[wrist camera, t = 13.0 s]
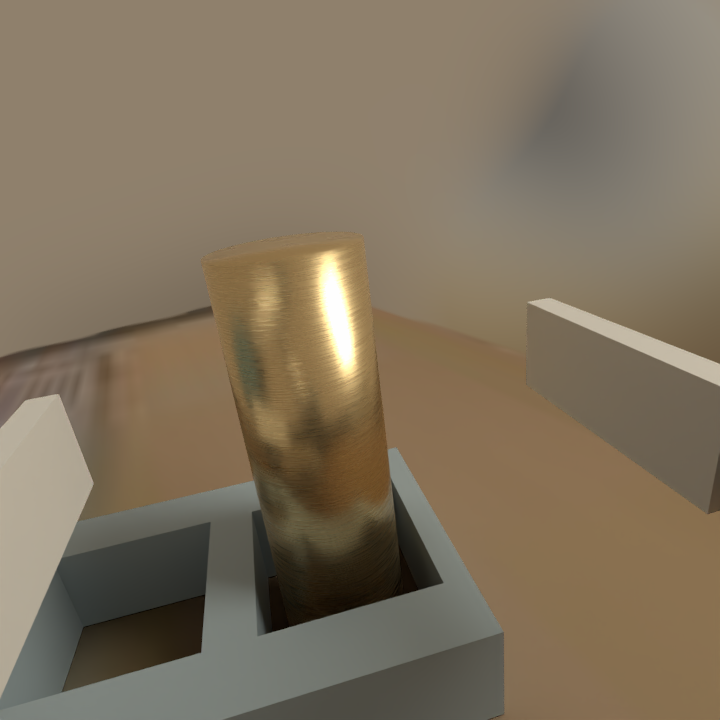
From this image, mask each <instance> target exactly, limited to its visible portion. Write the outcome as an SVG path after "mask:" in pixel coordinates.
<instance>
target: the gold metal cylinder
mask: <svg viewBox="0 0 720 720" xmlns="http://www.w3.org/2000/svg"><path fill="white" fill-rule="evenodd" d="M201 264H202V268H203V272H204V276H205V280H206V284H207V289H208V293H209V297H210V301H211V305H212V309H213V313H214V318H215V322H216V326H217V330H218V334H219V338H220V342H221V347H222V351H223V355H224V359H225V363H226V367H227V371H228V375H229V380H230V384H231V388H232V392H233V396H234V400H235V404H236V409H237V413H238V417H239V421H240V425H241V429H242V433H243V438H244V442H245V446H246V450H247V454H248V458H249V462H250V467H251V471H252V475H253V479H254V483H255V487H256V491H257V495H258V500H259V504H260V508H261V512H262V516H263V520H264V524H265V529H266V533H267V537H268V541H269V545H270V549H271V553H272V558H273V562H274V566H275V570H276V574H277V578H278V582H279V586H280V591H281V595H282V599H283V603H284V607H285V611H286V615H287V620H288V624H289V627H292V626H296V625H299V624H303V623H306V622H310V621H313V620H317V619H320V618H324V617H327V616H331V615H334V614H338V613H341V612H345V611H348V610H352V609H355V608H359V607H362V606H366V605H369V604H373V603H376V602H380V601H383V600H387V599H390V598H394V597H397V596H401V595H404V591H403V582H402V573H401V564H400V555H399V546H398V538H397V529H396V520H395V511H394V502H393V493H392V485H391V476H390V467H389V458H388V449H387V440H386V432H385V423H384V414H383V405H382V396H381V387H380V379H379V370H378V361H377V352H376V343H375V334H374V326H373V317H372V308H371V299H370V291H369V282H368V273H367V264H366V255H365V246H364V237H363V236H362V235H361V234H357V233H352V232H318V233H305V234H296V235H288V236H281V237H275V238H268V239H262V240H257V241H252V242H247V243H243V244H239V245H235V246H231V247H227V248H224V249H220V250H217V251H215V252H212V253H210V254H208V255H206V256H204V257H203V258H202V259H201Z"/></svg>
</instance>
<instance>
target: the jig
mask: <svg viewBox="0 0 720 720" xmlns="http://www.w3.org/2000/svg"><path fill="white" fill-rule="evenodd" d="M388 458H389V467H390V476H391V485H392V493H393V502H394V511H395V520H396V529H397V538H398V544H399V546H400V549H401V551H402V553H403V555H404V558H405V560H406V562H407V565H408V567H409V569H410V571H411V574H412V576H413V578H414V581H415V583H416V585H417V588H418V591H414V592H411V593H407V594H404V595H401V596H397V597H394V598H390V599H387V600H383V601H380V602H376V603H373V604H369V605H366V606H362V607H359V608H355V609H352V610H348V611H345V612H341V613H338V614H334V615H331V616H327V617H324V618H320V619H317V620H313V621H310V622H306V623H303V624H299V625H296V626H292V627H289V628H285V629H282V630H278V631H275V632H272V622H271V609H270V596H269V583H268V577H272V576H276V575H277V574H276V570H275V566H274V562H273V558H272V553H271V549H270V545H269V541H268V537H267V533H266V529H265V524H264V520H263V516H262V512H261V508H260V504H259V500H258V495H257V491H256V487H255V483H254V481H250V482H246V483H242V484H238V485H233V486H229V487H225V488H220V489H216V490H212V491H208V492H203V493H199V494H195V495H190V496H186V497H182V498H177V499H173V500H169V501H165V502H160V503H156V504H152V505H147V506H143V507H139V508H135V509H130V510H126V511H122V512H117V513H113V514H109V515H105V516H100V517H96V518H92V519H87V520H83V521H79V522H77V523H76V525H75V528H74V530H73V532H72V535H71V537H70V539H69V542H68V544H67V546H66V548H65V551H64V553H63V555H62V558H61V560H60V562H59V565H58V567H57V569H56V571H55V574H54V576H53V578H52V581H51V583H50V585H49V588H48V590H47V592H46V594H45V597H44V599H43V601H42V604H41V606H40V608H39V610H38V613H37V615H36V617H35V620H34V622H33V624H32V627H31V629H30V631H29V633H28V636H27V638H26V640H25V643H24V645H23V647H22V650H21V652H20V654H19V656H18V659H17V661H16V663H15V666H14V668H13V670H12V672H11V675H10V677H9V679H8V682H7V684H6V686H5V689H4V691H3V693H2V695H1V698H0V720H488V719H491V718H494V717H496V716H499V715H502V714H504V632H503V630H502V629H501V627H500V625H499V623H498V622H497V620H496V618H495V617H494V615H493V613H492V611H491V610H490V608H489V606H488V604H487V603H486V601H485V599H484V598H483V596H482V594H481V592H480V591H479V589H478V587H477V585H476V584H475V582H474V580H473V579H472V577H471V575H470V573H469V572H468V570H467V568H466V567H465V565H464V563H463V561H462V560H461V558H460V556H459V554H458V553H457V551H456V549H455V548H454V546H453V544H452V542H451V541H450V539H449V537H448V536H447V534H446V532H445V530H444V529H443V527H442V525H441V523H440V522H439V520H438V518H437V517H436V515H435V513H434V511H433V510H432V508H431V506H430V504H429V503H428V501H427V499H426V498H425V496H424V494H423V492H422V491H421V489H420V487H419V486H418V484H417V482H416V480H415V479H414V477H413V475H412V473H411V472H410V470H409V468H408V467H407V465H406V463H405V461H404V460H403V458H402V456H401V455H400V453H399V451H398V449H397V448H392V449H388ZM201 595H205V608H204V622H203V636H202V650H201V653H198V654H195V655H191V656H188V657H184V658H181V659H177V660H174V661H170V662H167V663H163V664H160V665H156V666H153V667H149V668H146V669H142V670H139V671H135V672H132V673H128V674H125V675H122V676H118V677H115V678H111V679H108V680H104V681H101V682H97V683H94V684H90V685H87V686H83V687H80V688H76V689H73V690H69V691H66V692H62V689H63V687H64V684H65V681H66V678H67V675H68V672H69V669H70V666H71V663H72V660H73V657H74V654H75V651H76V648H77V645H78V642H79V639H80V636H81V633H82V630H83V627H85V626H89V625H92V624H96V623H100V622H104V621H107V620H111V619H115V618H119V617H122V616H126V615H130V614H133V613H137V612H141V611H145V610H148V609H152V608H156V607H160V606H163V605H167V604H171V603H175V602H178V601H182V600H186V599H190V598H193V597H197V596H201ZM61 692H62V693H61Z"/></svg>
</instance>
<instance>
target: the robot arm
mask: <svg viewBox="0 0 720 720" xmlns="http://www.w3.org/2000/svg"><path fill="white" fill-rule="evenodd" d="M526 385H527V386H529V387H530V388H532V389H533V390H534V391H536V392H537V393H539V394H540V395H541V396H543V397H544V398H546V399H547V400H548V401H550V402H551V403H553V404H554V405H555V406H557V407H558V408H560V409H561V410H562V411H564V412H565V413H567V414H568V415H569V416H571V417H572V418H574V419H575V420H576V421H578V422H579V423H581V424H582V425H583V426H585V427H586V428H588V429H589V430H590V431H592V432H593V433H595V434H596V435H597V436H599V437H600V438H602V439H603V440H604V441H606V442H607V443H609V444H610V445H611V446H613V447H614V448H616V449H617V450H618V451H620V452H621V453H623V454H624V455H625V456H627V457H628V458H630V459H631V460H632V461H634V462H635V463H637V464H638V465H639V466H641V467H642V468H644V469H645V470H646V471H648V472H649V473H651V474H652V475H653V476H655V477H656V478H658V479H659V480H660V481H662V482H663V483H665V484H666V485H667V486H669V487H670V488H672V489H673V490H674V491H676V492H677V493H679V494H680V495H681V496H683V497H684V498H686V499H687V500H689V501H690V502H691V503H693V504H694V505H696V506H697V507H698V508H700V509H701V510H703V511H704V512H705V513H707V514H710V513H713V512H716V511H720V364H718V363H716V362H713V361H711V360H708V359H705V358H703V357H700V356H698V355H695V354H693V353H690V352H687V351H685V350H682V349H680V348H677V347H675V346H672V345H670V344H667V343H664V342H662V341H659V340H657V339H654V338H652V337H649V336H646V335H644V334H641V333H639V332H636V331H634V330H631V329H629V328H626V327H623V326H620V325H618V324H616V323H613V322H611V321H608V320H605V319H603V318H600V317H598V316H595V315H593V314H590V313H587V312H585V311H582V310H579V309H577V308H575V307H572V306H570V305H567V304H564V303H562V302H559V301H557V300H554V299H551V298H547V299H541V300H537V301H531V302H527V355H526ZM93 484H94V483H93V480H92V478H91V475H90V473H89V470H88V468H87V465H86V463H85V460H84V458H83V455H82V452H81V450H80V447H79V445H78V442H77V440H76V437H75V435H74V432H73V429H72V427H71V424H70V422H69V419H68V417H67V414H66V412H65V409H64V406H63V404H62V401H61V399H60V396H59V394H56V395H50V396H45V397H40V398H35V399H30V400H26V401H25V402H24V403H23V404H22V405H21V406H20V407H19V408H18V409H17V411H16V412H15V413H14V414H13V415H12V416H11V417H10V418H9V420H8V421H7V422H6V423H5V424H4V425H3V426H2V427H1V429H0V698H1V695H2V693H3V691H4V689H5V686H6V684H7V682H8V679H9V677H10V675H11V672H12V670H13V668H14V666H15V663H16V661H17V659H18V656H19V654H20V652H21V650H22V647H23V645H24V643H25V640H26V638H27V636H28V633H29V631H30V629H31V627H32V624H33V622H34V620H35V617H36V615H37V613H38V610H39V608H40V606H41V604H42V601H43V599H44V597H45V594H46V592H47V590H48V588H49V585H50V583H51V581H52V578H53V576H54V574H55V571H56V569H57V567H58V565H59V562H60V560H61V558H62V555H63V553H64V551H65V548H66V546H67V544H68V542H69V539H70V537H71V535H72V532H73V530H74V528H75V525H76V523H77V521H78V519H79V516H80V514H81V512H82V509H83V507H84V505H85V503H86V500H87V498H88V496H89V493H90V491H91V489H92V486H93Z"/></svg>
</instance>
